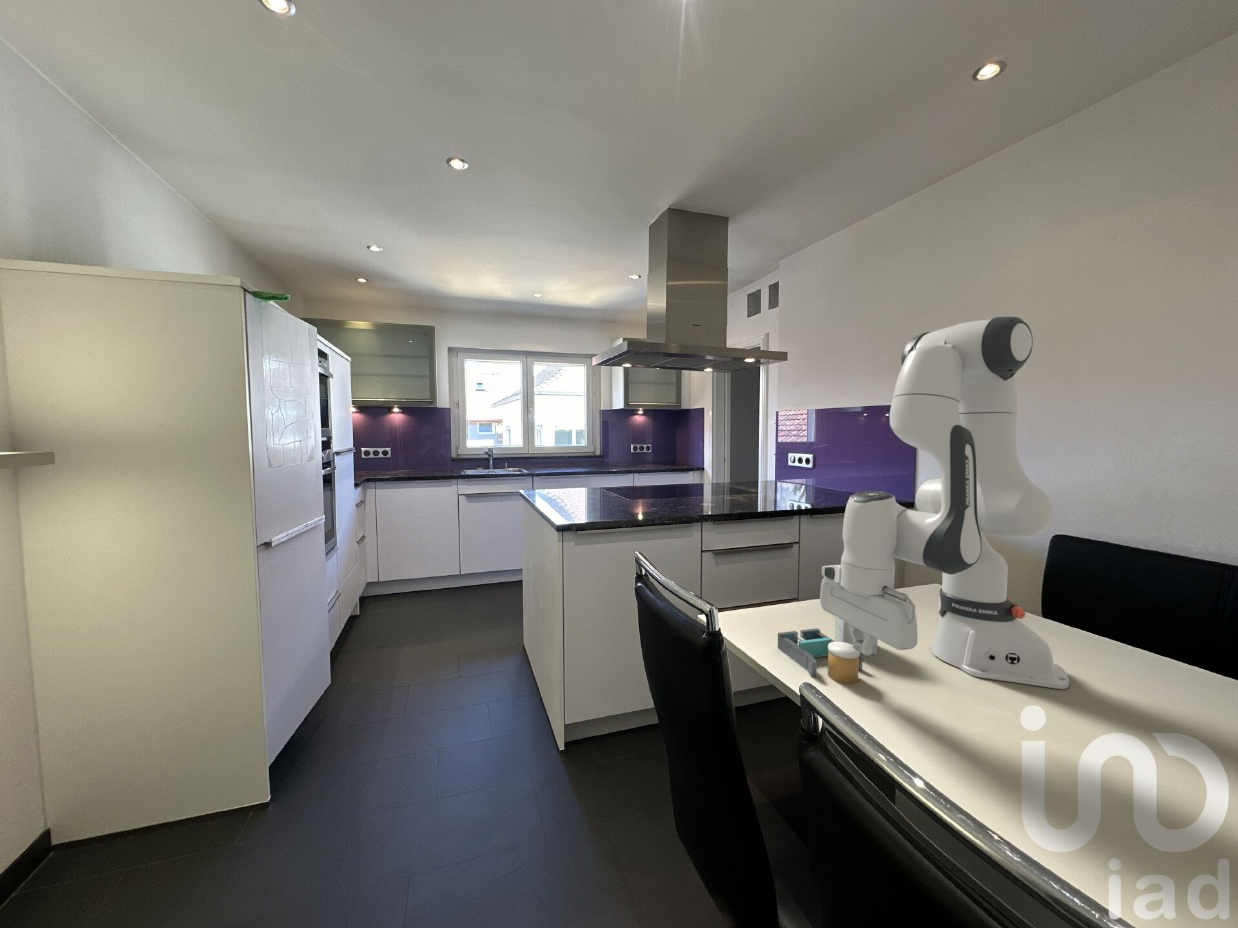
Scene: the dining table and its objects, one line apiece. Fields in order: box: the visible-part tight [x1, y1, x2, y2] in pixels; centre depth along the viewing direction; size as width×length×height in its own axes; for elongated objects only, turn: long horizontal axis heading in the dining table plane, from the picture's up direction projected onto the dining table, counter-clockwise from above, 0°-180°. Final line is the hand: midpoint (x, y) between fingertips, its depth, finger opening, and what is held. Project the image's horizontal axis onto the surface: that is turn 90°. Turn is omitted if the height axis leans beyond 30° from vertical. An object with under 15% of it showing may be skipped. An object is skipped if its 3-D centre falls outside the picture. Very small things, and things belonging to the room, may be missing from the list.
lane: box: [777, 627, 864, 678], centre depth 101 cm, size 13×12×4 cm
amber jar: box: [827, 641, 861, 685], centre depth 93 cm, size 6×6×6 cm
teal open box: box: [798, 635, 832, 658], centre depth 104 cm, size 8×7×4 cm
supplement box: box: [834, 616, 878, 655], centre depth 107 cm, size 7×7×13 cm
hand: (862, 651), depth 87 cm, fingers closed
